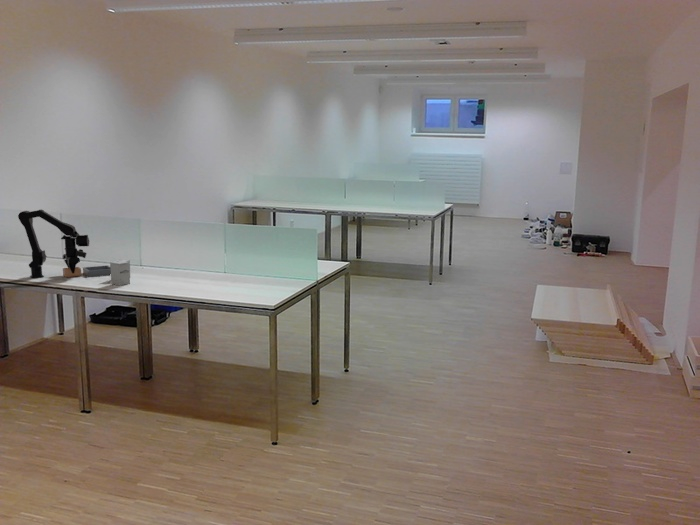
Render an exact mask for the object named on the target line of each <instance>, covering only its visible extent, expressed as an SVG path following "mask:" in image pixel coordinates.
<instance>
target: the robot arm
mask: <svg viewBox="0 0 700 525" xmlns="http://www.w3.org/2000/svg"><path fill="white" fill-rule="evenodd" d="M17 215H18V216H17V217H18V220H19V222H20V223H21V225H22V226H23V228H24V230H25V233H26V237H27V239H28V243H29V245H30V248H31V258H32V261H31V262H30V263H28V267H29V268H30V274H31V275H29V277H30V278H31V279H35V278H36V279H37V278H44V275H43V268H42V267H43V264H44V263H45V262H46V260H47V258H48V257H47V254H46V251H45V249H44V250H42V249H41V246H40V244H39V240H38V238H37V235H36V232H35V228H34V226H33V222H34V219H35V218H40V219H42V220H44V221H45V222H48V223H49V224H51V225H53V226H54V227H56V228H57V229H59V231H60V232H62V233H63V236H62V237H61V238H60V240H64V250H65V253H64V254H62V259H63V261H64V263H65V264H66V268H70V270H71V272H72V273H74V272H75V267H77V264H78V263H80V262H81V258H83V259H86V257H87V252H84V249H82V248H81V249H80V248H79V249H78V248H77V247H89V246H90V239H89V235H88V234H82V235H80V234H79V232H77V230H76V227H75V226H74V225H73V224H70V223H68V222H67V223H66V222H63V221H61V220H60V219H58V218H57V217H54V216H53V215H52V214H50V213H48V212H47V211H45V210H43V209H38V210H33V211H29V210H24V211H20V213H19V214H17ZM79 257H81V258H79Z"/></svg>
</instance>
